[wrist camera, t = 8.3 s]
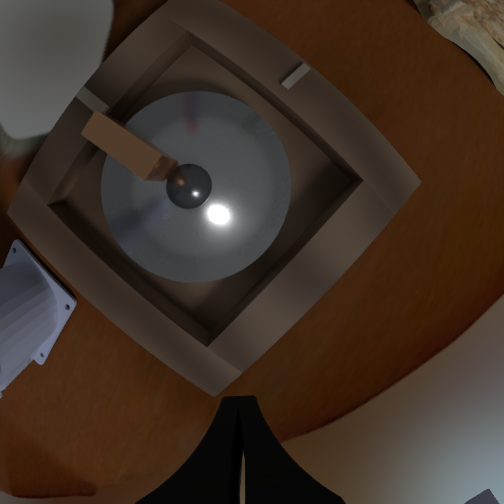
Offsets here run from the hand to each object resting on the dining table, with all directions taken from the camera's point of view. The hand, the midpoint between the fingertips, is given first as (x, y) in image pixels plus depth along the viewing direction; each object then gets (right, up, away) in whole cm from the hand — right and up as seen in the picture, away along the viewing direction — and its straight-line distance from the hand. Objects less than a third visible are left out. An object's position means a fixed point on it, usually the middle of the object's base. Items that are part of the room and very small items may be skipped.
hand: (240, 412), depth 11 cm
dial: (-3, +11, +7) cm, 13 cm away
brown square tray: (-3, +11, +8) cm, 14 cm away
